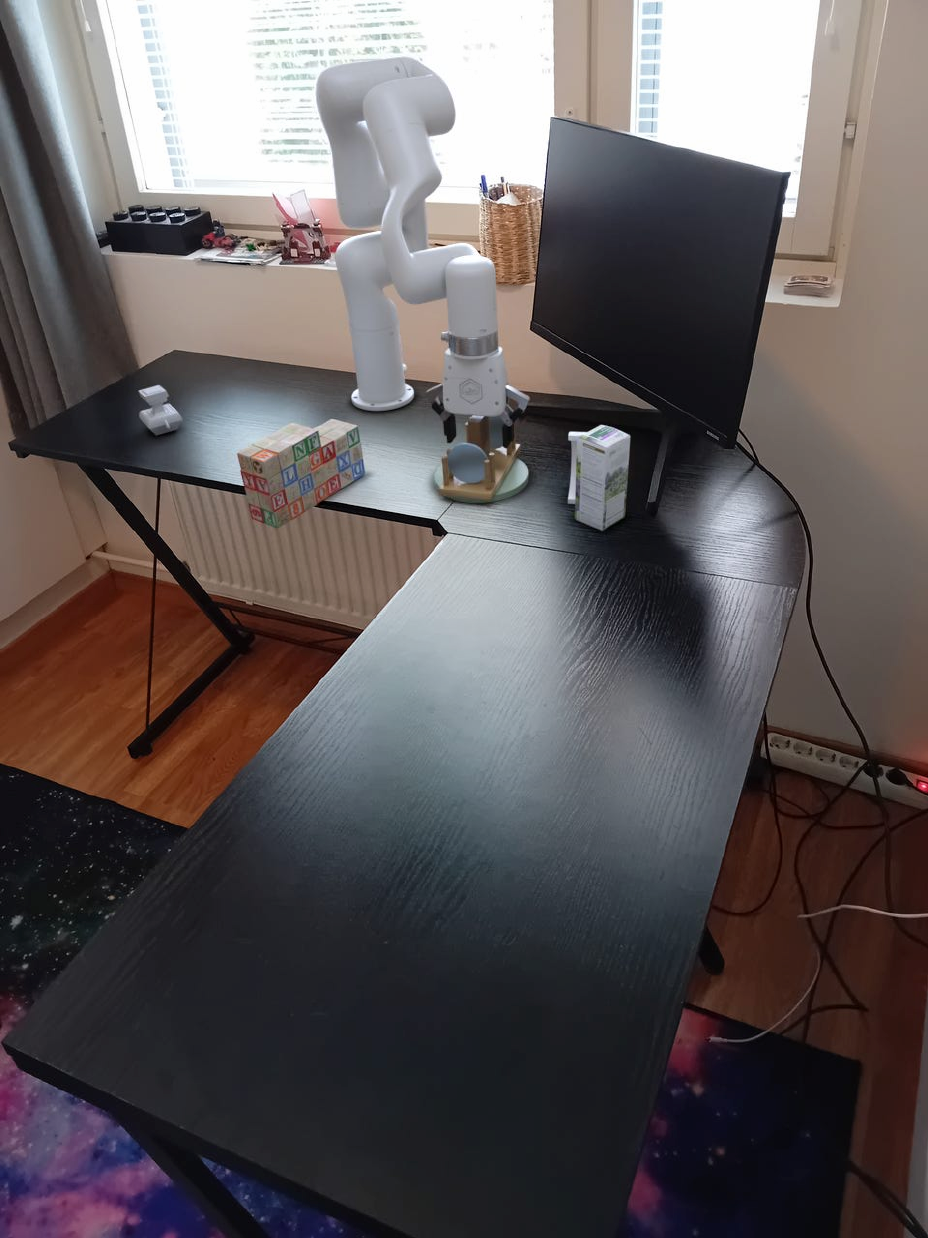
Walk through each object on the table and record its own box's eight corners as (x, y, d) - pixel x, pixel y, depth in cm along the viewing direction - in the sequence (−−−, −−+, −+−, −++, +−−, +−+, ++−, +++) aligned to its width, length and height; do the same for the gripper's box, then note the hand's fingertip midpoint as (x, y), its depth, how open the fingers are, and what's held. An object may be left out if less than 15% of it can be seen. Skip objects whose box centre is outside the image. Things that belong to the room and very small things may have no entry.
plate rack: (491, 500, 151) (488, 442, 145) (438, 494, 154) (433, 437, 148) (520, 450, 165) (519, 395, 159) (471, 445, 167) (468, 391, 161)
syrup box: (597, 505, 151) (599, 422, 142) (626, 518, 147) (631, 433, 139) (574, 520, 148) (575, 435, 139) (603, 532, 144) (606, 446, 135)
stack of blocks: (340, 466, 167) (329, 401, 160) (366, 474, 164) (357, 408, 157) (250, 519, 154) (235, 451, 147) (277, 529, 151) (262, 460, 143)
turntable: (450, 454, 168) (450, 448, 168) (538, 461, 164) (538, 455, 163) (422, 498, 156) (421, 491, 155) (515, 507, 152) (515, 500, 151)
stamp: (187, 433, 182) (177, 392, 177) (154, 442, 180) (142, 401, 175) (173, 417, 188) (162, 377, 183) (140, 427, 186) (129, 386, 181)
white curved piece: (567, 503, 152) (568, 435, 145) (571, 485, 157) (572, 418, 149) (596, 505, 151) (598, 436, 144) (599, 486, 156) (601, 419, 149)
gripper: (413, 347, 145) (422, 447, 156) (521, 353, 141) (524, 457, 151) (429, 330, 151) (437, 428, 161) (534, 335, 146) (535, 436, 156)
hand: (479, 442), depth 156 cm, fingers open, 9 cm apart
